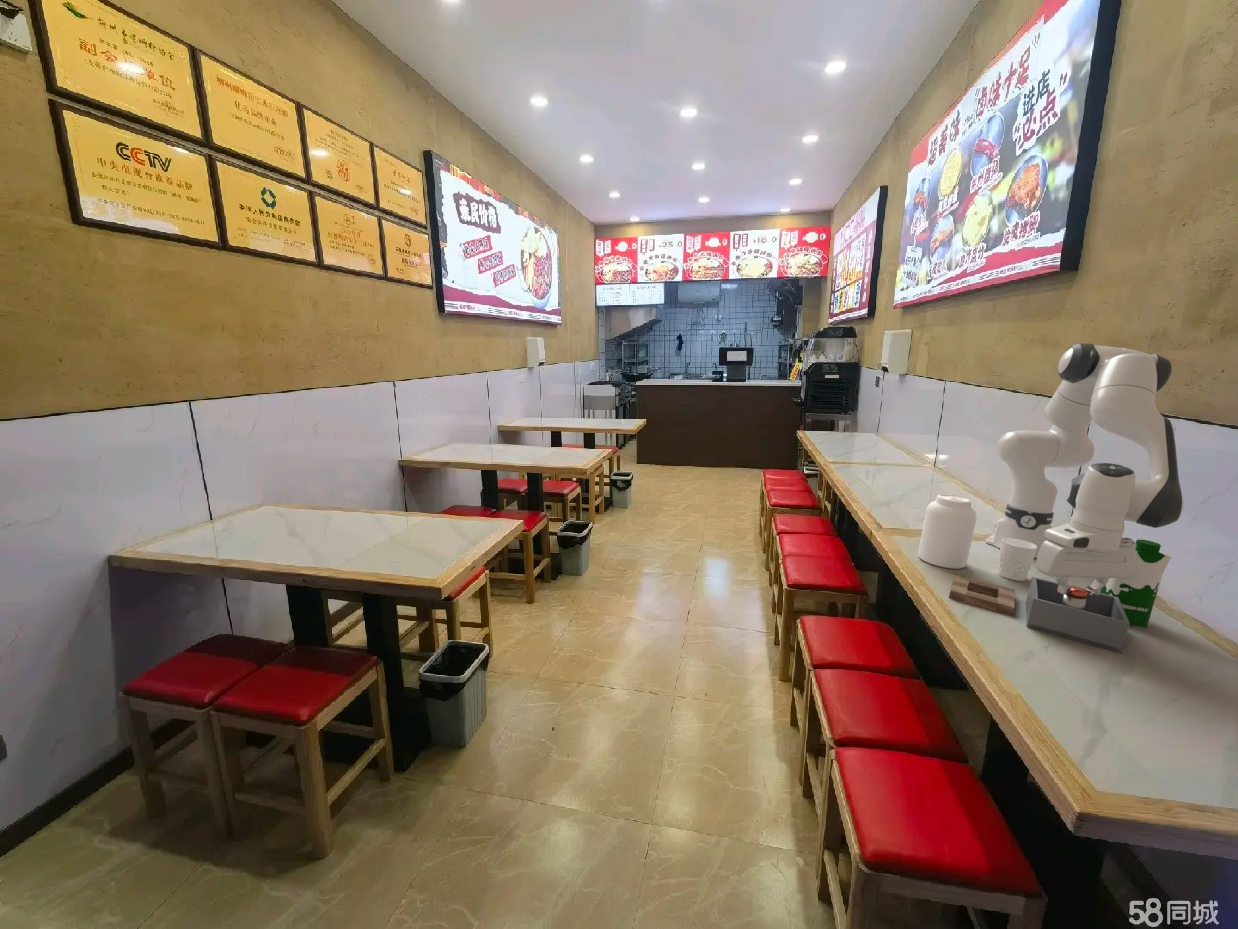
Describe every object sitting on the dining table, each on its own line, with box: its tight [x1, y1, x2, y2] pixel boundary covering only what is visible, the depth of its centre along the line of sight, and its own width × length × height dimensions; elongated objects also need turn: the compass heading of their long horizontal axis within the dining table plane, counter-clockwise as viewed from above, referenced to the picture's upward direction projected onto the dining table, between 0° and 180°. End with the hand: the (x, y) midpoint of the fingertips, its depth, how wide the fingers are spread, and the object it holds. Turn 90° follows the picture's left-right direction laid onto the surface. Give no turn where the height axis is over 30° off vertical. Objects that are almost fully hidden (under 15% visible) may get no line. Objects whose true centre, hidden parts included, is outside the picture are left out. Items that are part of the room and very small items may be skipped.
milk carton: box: [1100, 539, 1172, 628], centre depth 122 cm, size 9×9×20 cm
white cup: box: [996, 538, 1037, 582], centre depth 144 cm, size 8×8×10 cm
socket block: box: [948, 573, 1016, 617], centre depth 131 cm, size 13×13×2 cm
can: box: [917, 493, 977, 570], centre depth 152 cm, size 12×12×20 cm
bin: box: [1025, 576, 1131, 655], centre depth 118 cm, size 16×16×7 cm
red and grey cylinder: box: [1061, 584, 1088, 610], centre depth 118 cm, size 4×4×8 cm
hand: (1077, 593), depth 117 cm, fingers open, 5 cm apart
